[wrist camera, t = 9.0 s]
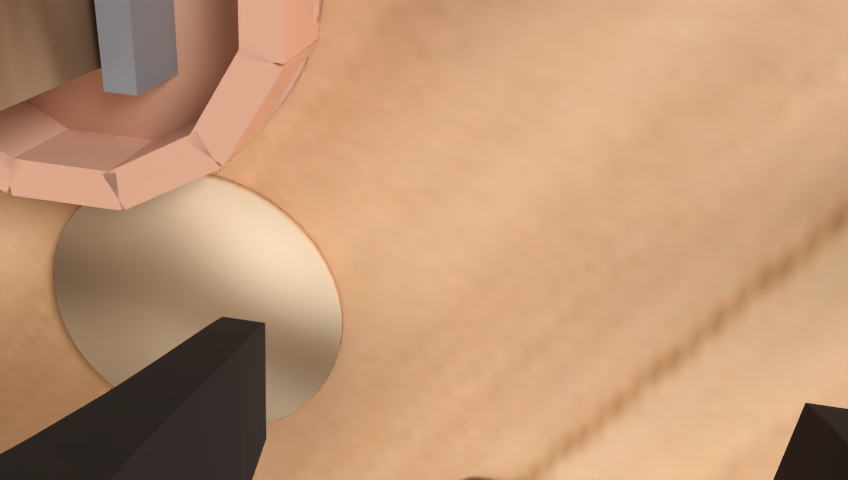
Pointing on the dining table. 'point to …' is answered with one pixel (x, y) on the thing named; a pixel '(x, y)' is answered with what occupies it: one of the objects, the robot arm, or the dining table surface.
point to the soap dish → (158, 99)
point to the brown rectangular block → (45, 46)
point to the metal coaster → (199, 284)
